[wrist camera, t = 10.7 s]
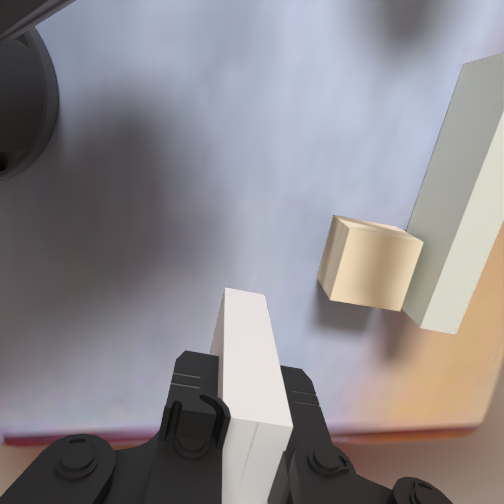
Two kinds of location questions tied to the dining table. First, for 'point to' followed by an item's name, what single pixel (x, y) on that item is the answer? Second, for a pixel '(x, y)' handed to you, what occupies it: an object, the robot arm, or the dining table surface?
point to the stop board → (460, 199)
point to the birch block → (368, 263)
